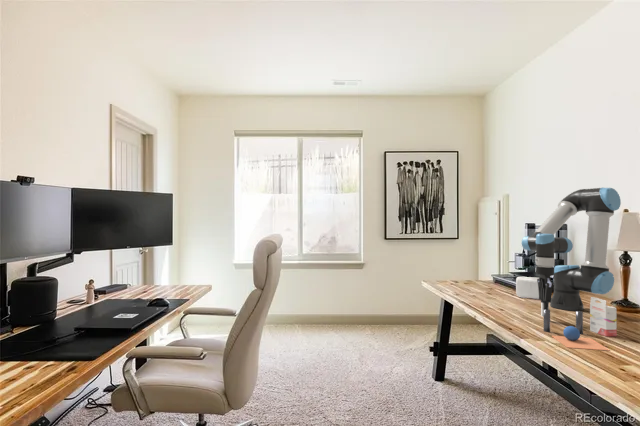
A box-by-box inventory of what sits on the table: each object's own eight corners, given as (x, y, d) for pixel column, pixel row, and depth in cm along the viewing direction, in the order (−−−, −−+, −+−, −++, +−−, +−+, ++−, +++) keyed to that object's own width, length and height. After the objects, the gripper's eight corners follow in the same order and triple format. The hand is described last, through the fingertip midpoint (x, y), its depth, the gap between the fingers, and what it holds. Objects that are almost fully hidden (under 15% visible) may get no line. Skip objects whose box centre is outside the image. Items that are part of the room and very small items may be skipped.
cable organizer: (543, 297, 229) (543, 278, 229) (544, 300, 220) (544, 280, 220) (516, 294, 236) (516, 276, 236) (515, 297, 227) (515, 278, 227)
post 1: (548, 330, 159) (548, 309, 159) (551, 332, 157) (551, 310, 157) (542, 330, 159) (542, 309, 160) (544, 331, 157) (544, 310, 157)
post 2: (581, 332, 157) (581, 311, 157) (583, 334, 154) (583, 312, 154) (574, 332, 157) (574, 310, 157) (577, 333, 155) (577, 312, 155)
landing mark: (590, 338, 149) (590, 338, 149) (610, 350, 135) (610, 350, 135) (551, 336, 151) (551, 335, 151) (567, 347, 138) (567, 347, 138)
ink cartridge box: (617, 336, 152) (617, 300, 152) (606, 336, 151) (606, 300, 151) (600, 330, 160) (600, 296, 160) (589, 330, 160) (589, 296, 160)
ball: (578, 343, 146) (574, 330, 149) (584, 337, 142) (580, 324, 145) (563, 342, 147) (559, 329, 151) (568, 336, 143) (564, 323, 146)
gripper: (531, 264, 183) (531, 312, 183) (541, 267, 170) (541, 319, 170) (548, 264, 181) (548, 313, 181) (559, 268, 169) (559, 320, 168)
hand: (544, 316), depth 175 cm, fingers closed
